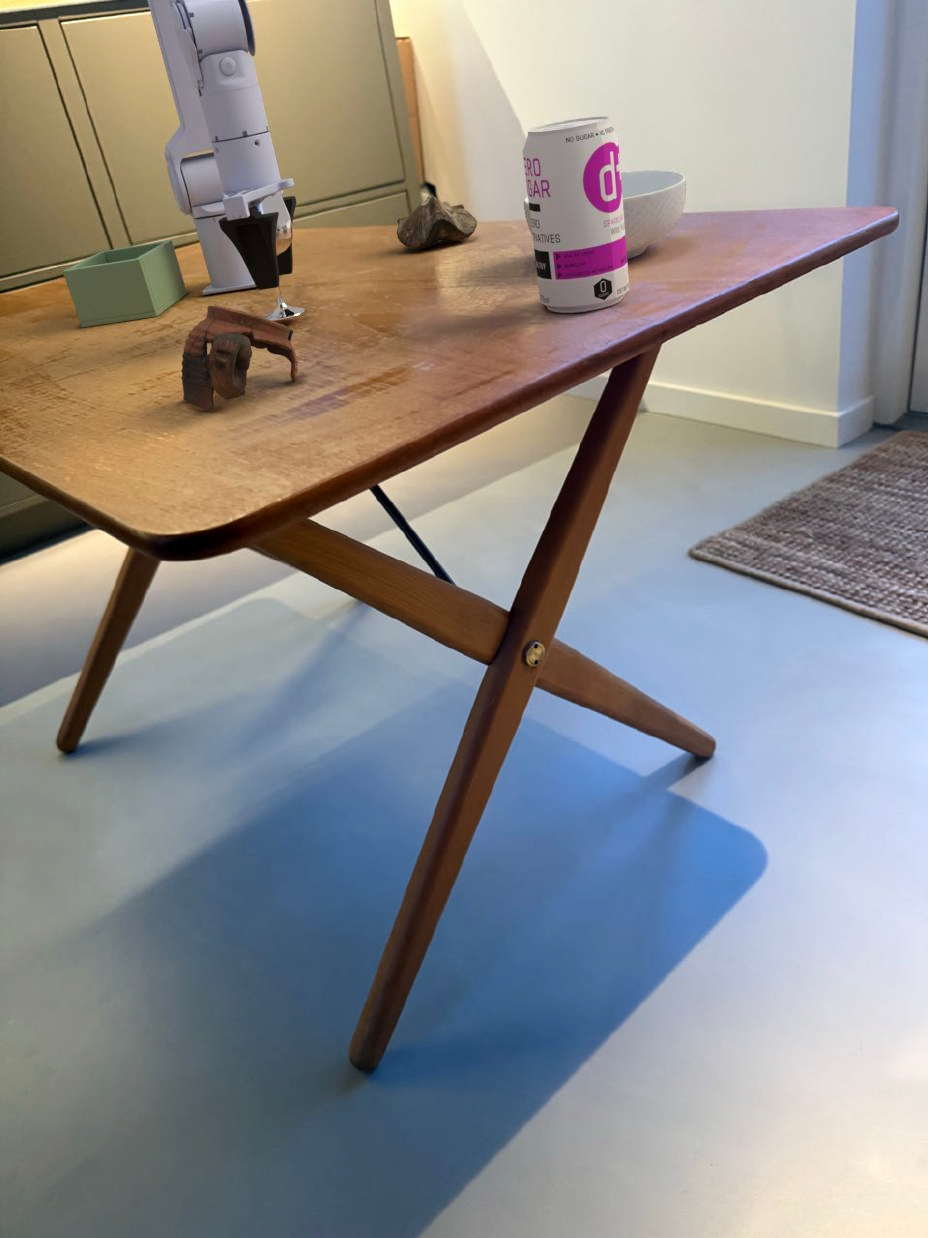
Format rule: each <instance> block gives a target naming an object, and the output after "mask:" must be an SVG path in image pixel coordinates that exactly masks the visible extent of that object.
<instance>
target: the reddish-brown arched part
mask: <svg viewBox="0 0 928 1238" xmlns="http://www.w3.org/2000/svg"><path fill="white" fill-rule="evenodd" d="M293 334H294V330H293V329H292V328H290V327H289V326H286V325H285V324H283V323H280V322H277V321H275V320H274V321H271V320H269V319H266V318H263V316H259V315H256V314H252V313H251V314H250V313H249V312H246V311H242V310H239V309H235V308H230V307H228V306H227V307H226V306H222V305H207V312H206V317H205V318H204V319H203V320H201V321H199V323H197V325H195V326H194V327H192V330H191V331H190V332H189V333H188V335H187V338H186V339H185V340H184V341H185V345H184V347H183V352H182V355H181V357H182V361H181V377H180V378H181V384H182V392H183V401H185V402H186V403H187V404H190V405H192V406H194V407H199V408H201V409H206V410H210V411H213V410H214V409H215V401H214V400H215V399H214V395H215V394H214V393H216V394H217V395H218V396H220V397H221V398H223V399H225V400H233V399H236V398H239V397H241V396H244V395H245V394H246V387H247V377H248V370H249V369H250V366H251V359H252V356H253V350H252V348H255V349H259V350H264V349H266V350H267V352H268V353H270V354H272V355H278V356H281V357H284V358H285V359H286V360H288V361H289V362H290V379H291V380H292V381H293V382H296V380H297V379H298V372H299V368H298V365H299V361H298V359H297V353H296V350H295V348H294V347H293V344H292V342H291V341H292V337H293ZM208 344H210V350H209V353H208Z"/></svg>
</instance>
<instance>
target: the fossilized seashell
mask: <svg viewBox="0 0 928 1238" xmlns="http://www.w3.org/2000/svg"><path fill="white" fill-rule="evenodd" d="M396 222H397V223H398V226H397V229H396V235H397V240H398V241H399V242H400V243H401V244H402V245H404V246H405V247H406V248H407V249H414V250H421V249H427V248H430V247H432V246H434V245H435V244H438V242H440V241H442V242H448V243H455V242H460V241H463V240H466V239H468V238H470V237H471V236H472V235H473V234H474V232H475V231H476V228H477V226H478V221H477V219H476V217H475V216H474V215H473V214H471V213H470V212H469V211H468V210H466V209H465V206H464V204H463V203H462V204H457V205H451V204H450V203H449V202H448V201H445V200H444V201H442V200H440V199H439V198H438V197H436V196H434V195H433V194H430V195H428V196H427V198H426V199H425V200H423V201H422V202H421V203H420V204H419V205H418V206H417V207H416V208H415V209H414V210H413V211H412V212H411V213H410V214H409V215H407V216H404V217H400V218H398V219H397V220H396Z"/></svg>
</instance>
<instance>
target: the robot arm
mask: <svg viewBox="0 0 928 1238" xmlns="http://www.w3.org/2000/svg"><path fill="white" fill-rule="evenodd" d="M146 1H147V4H148V8H149V11H150V16H151V19H152V23H153V27H154V31H155V34H156V39H157V41H158V46H159V50H160V53H161V57H162V61H163V64H164V69H165V72H166V75H167V79H168V83H169V87H170V91H171V93H172V97H173V101H174V105H175V109H176V113H177V116H178V120H179V127H178V128H177V129H176V131H174V133H173V134H172V136H171V137H170V138H169V139H168V141H167V142H166V144H165V147H164V152H163V153H164V154H163V155H164V158H165V161H166V168H167V174H168V178H169V183H170V185H171V189H172V192H173V196H174V199H175V202H176V204H177V207H178V209H179V211H180V212H182V213H183V214H184V215H185V216H190V217H192V218H193V222H194V227H195V231H196V234H197V237H198V241H199V244H200V249H201V251H202V255H203V259H204V262H205V265H206V270H207V274H208V277H209V280H210V284H209V285H208V286H207V287H205V288H204V289H203V290H201V293H202V295H203V296H205V295H212V294H218V293H219V294H220V293H225V292H232V291H238V290H246V289H252V288H256V289H257V290H258V291H263V290H268V289H275V288H276V287H278V286H279V287H280V276H285V275H292V273H293V270H294V257H293V241H292V242H291V244H290V246H289V247H288V249H287V250H286V251H285V252H283V253H282V254H281V255H279V256H278V257H277V253H276V228H277V221H278V216H279V212H273V213H267V214H261V211H260V212H258V209H257V206H253V204H252V205H250V204H251V203H254V202H259V201H262V197H265V196H268V195H270V194H273V193H276V192H280V194H281V196H282V195H283V194H284V190H287V189H291V188H292V187H294V186H295V181H294V178H293V177H291V178H289V177H288V178H285V179H284V178H281V173H280V170H279V169H280V168H279V165H278V161H277V157H276V152H275V148H274V144H273V140H272V135H271V131H270V126H269V122H268V118H267V117H268V116H267V113H266V109H265V105H264V100H263V96H262V91H261V88H260V83H259V79H258V74H257V69H256V65H255V61H254V58H253V57H255V56H256V50H257V49H256V46H257V45H256V36H255V34H256V33H255V28H254V22H253V18H252V15H251V10H250V7H249V4H248V3H247V0H146ZM210 150H212V152H206V153H202V154H198V155H191V156H188V155H190V154H195V153H196V154H197V153H200V152H205V151H210ZM282 198H283V200H284V202H285V205H286V207H287V210H288V213H289V216H290V219H291V223H292V224H293V222H294V215H295V212H296V207H297V199H296V196H295V195H291V196H284V197H283V196H282Z"/></svg>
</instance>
